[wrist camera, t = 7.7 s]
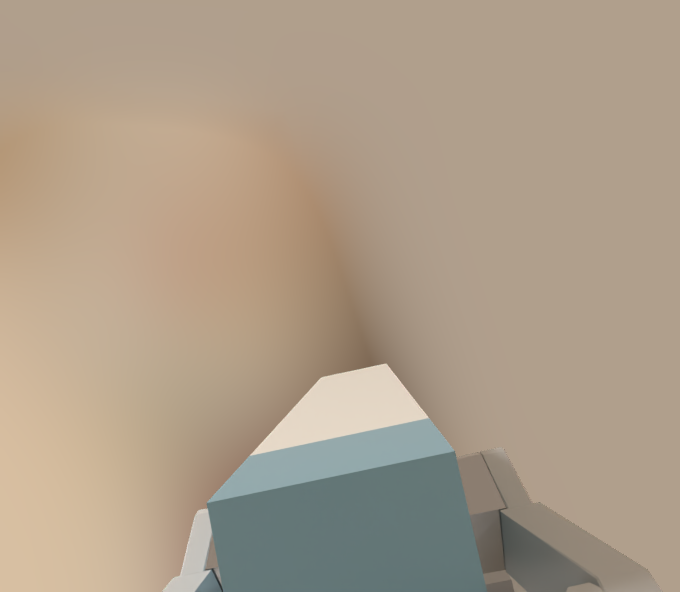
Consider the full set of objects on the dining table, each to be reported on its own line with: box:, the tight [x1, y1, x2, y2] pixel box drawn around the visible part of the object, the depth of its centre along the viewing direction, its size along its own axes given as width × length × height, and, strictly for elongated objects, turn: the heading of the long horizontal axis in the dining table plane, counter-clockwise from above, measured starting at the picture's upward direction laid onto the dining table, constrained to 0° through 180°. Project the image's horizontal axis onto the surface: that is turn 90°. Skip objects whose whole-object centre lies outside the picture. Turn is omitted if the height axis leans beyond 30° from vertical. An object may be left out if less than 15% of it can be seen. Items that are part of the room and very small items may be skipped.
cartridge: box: [207, 364, 487, 592], centre depth 19 cm, size 22×4×4 cm, turn 177°
